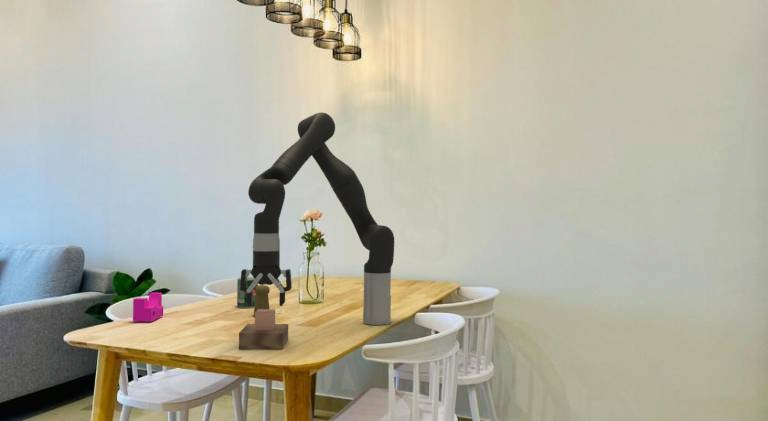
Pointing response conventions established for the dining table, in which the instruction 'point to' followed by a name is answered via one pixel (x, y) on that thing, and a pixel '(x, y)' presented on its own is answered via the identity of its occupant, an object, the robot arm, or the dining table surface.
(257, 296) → the cork
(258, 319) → the terracotta cube
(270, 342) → the walnut base block
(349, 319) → the dining table surface
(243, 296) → the canned tomato
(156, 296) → the toy block
